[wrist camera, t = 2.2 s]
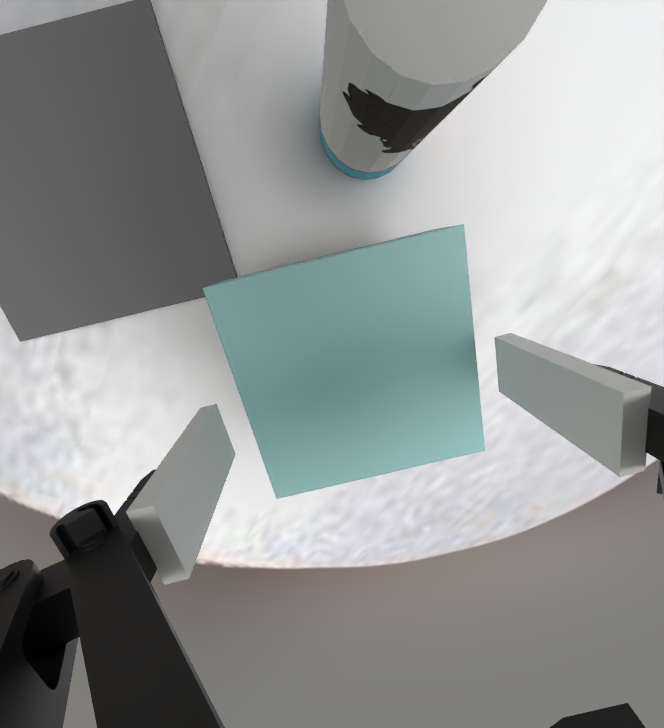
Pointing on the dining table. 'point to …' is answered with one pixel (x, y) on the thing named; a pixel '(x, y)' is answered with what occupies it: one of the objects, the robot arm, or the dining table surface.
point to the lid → (356, 360)
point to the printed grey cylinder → (406, 71)
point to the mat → (99, 176)
